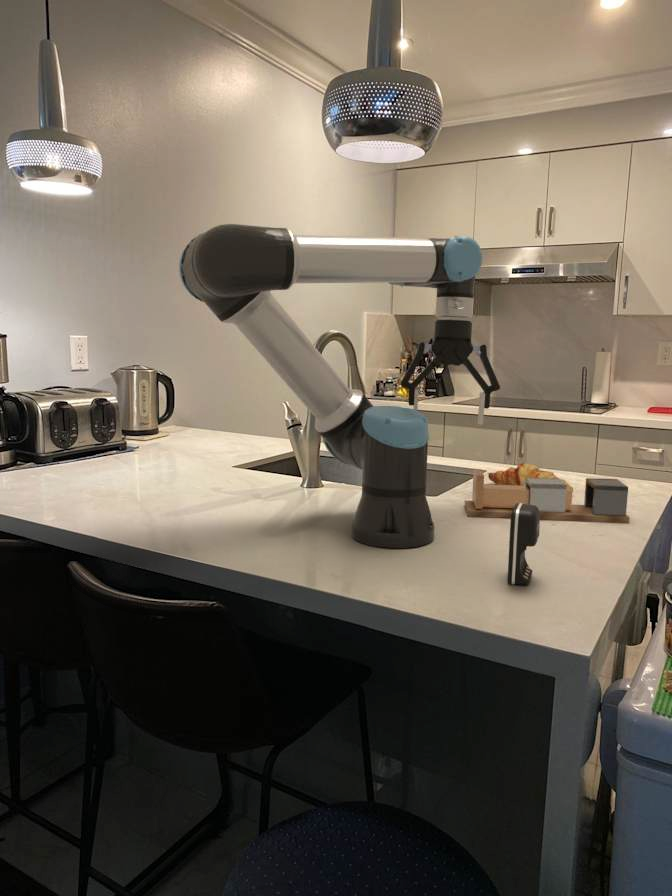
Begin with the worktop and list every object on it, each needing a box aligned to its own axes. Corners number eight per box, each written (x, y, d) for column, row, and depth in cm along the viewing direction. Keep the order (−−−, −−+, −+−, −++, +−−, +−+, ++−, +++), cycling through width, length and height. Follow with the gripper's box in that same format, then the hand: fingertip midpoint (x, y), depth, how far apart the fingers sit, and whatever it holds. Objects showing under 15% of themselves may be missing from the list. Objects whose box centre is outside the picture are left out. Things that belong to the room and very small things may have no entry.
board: (467, 516, 138) (468, 510, 138) (464, 505, 147) (464, 500, 147) (629, 523, 135) (629, 517, 135) (615, 511, 144) (616, 506, 143)
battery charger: (533, 588, 99) (537, 513, 97) (506, 585, 100) (510, 510, 98) (537, 573, 105) (541, 502, 103) (512, 570, 107) (516, 500, 105)
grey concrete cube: (529, 511, 138) (531, 484, 137) (524, 504, 144) (525, 477, 143) (564, 513, 137) (566, 485, 136) (557, 505, 144) (559, 478, 143)
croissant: (575, 509, 160) (582, 477, 162) (565, 496, 152) (572, 463, 154) (491, 494, 172) (498, 465, 174) (477, 482, 164) (485, 451, 166)
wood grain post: (475, 508, 139) (476, 475, 138) (472, 500, 146) (473, 468, 145) (572, 512, 137) (575, 478, 136) (565, 504, 144) (567, 471, 142)
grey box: (593, 514, 136) (595, 485, 135) (584, 505, 144) (586, 478, 143) (625, 516, 135) (628, 487, 134) (614, 506, 143) (617, 479, 142)
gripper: (392, 316, 135) (387, 422, 138) (519, 320, 133) (511, 427, 136) (392, 318, 142) (387, 418, 146) (512, 322, 141) (504, 423, 144)
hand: (447, 422), depth 141 cm, fingers open, 13 cm apart
